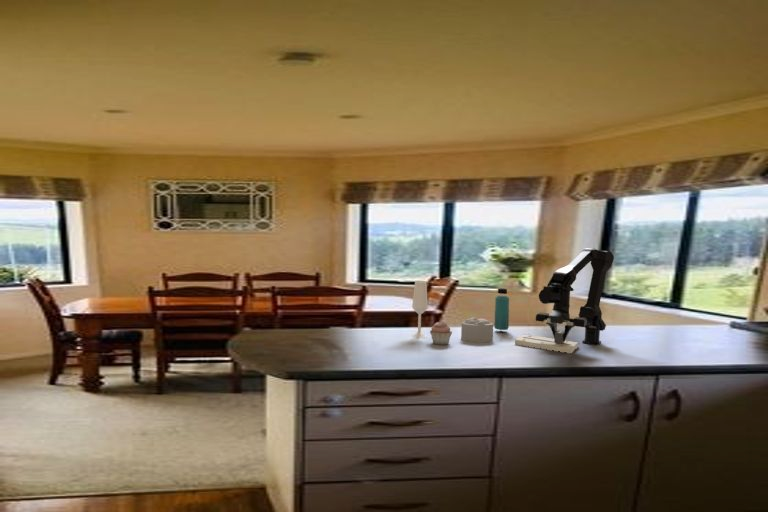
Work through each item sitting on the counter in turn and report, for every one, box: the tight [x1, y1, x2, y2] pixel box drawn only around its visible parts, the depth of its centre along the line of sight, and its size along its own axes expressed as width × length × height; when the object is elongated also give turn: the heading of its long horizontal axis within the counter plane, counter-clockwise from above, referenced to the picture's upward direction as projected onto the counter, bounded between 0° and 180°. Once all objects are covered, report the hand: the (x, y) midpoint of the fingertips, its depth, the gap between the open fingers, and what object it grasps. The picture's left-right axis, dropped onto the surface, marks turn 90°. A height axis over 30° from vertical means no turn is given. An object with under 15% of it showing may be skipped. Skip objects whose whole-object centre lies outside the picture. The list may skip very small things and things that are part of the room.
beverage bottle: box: [493, 287, 510, 331], centre depth 216 cm, size 6×7×20 cm
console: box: [514, 334, 579, 354], centre depth 193 cm, size 12×22×2 cm, turn 56°
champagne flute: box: [411, 280, 429, 339], centre depth 204 cm, size 7×7×24 cm
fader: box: [553, 330, 565, 344], centre depth 190 cm, size 5×3×4 cm, turn 146°
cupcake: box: [429, 319, 453, 346], centre depth 193 cm, size 9×9×10 cm
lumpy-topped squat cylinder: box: [460, 317, 494, 343], centre depth 201 cm, size 10×13×9 cm
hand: (559, 340), depth 190 cm, fingers closed on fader, 3 cm apart
